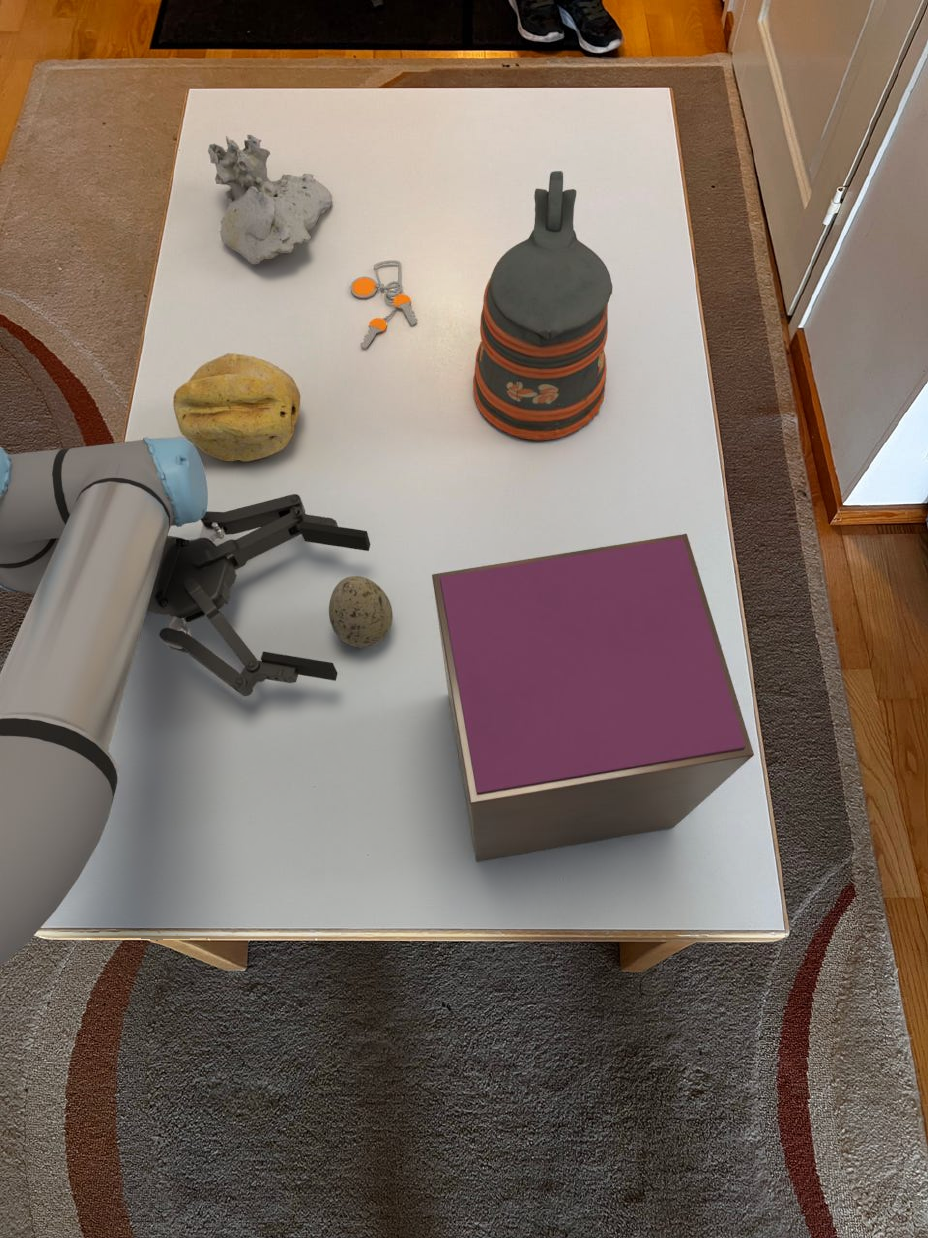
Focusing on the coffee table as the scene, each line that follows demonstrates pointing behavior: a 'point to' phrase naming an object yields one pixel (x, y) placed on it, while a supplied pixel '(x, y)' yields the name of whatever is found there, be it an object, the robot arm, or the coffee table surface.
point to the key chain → (368, 288)
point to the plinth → (588, 800)
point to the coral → (264, 202)
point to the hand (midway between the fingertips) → (352, 604)
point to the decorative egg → (360, 612)
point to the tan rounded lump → (238, 408)
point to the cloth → (586, 666)
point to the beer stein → (544, 328)
